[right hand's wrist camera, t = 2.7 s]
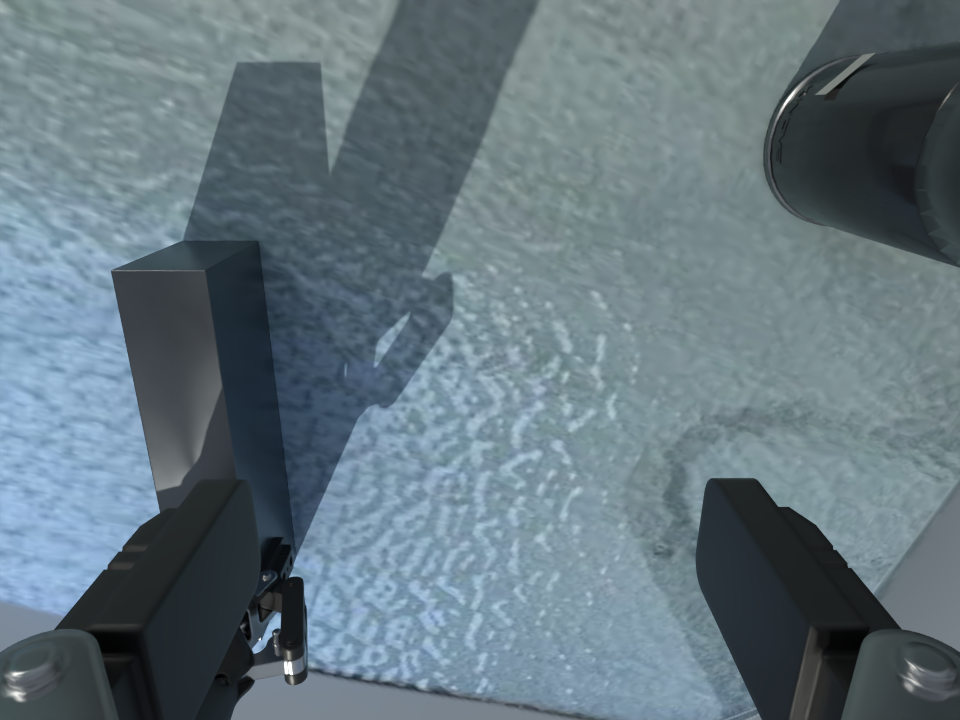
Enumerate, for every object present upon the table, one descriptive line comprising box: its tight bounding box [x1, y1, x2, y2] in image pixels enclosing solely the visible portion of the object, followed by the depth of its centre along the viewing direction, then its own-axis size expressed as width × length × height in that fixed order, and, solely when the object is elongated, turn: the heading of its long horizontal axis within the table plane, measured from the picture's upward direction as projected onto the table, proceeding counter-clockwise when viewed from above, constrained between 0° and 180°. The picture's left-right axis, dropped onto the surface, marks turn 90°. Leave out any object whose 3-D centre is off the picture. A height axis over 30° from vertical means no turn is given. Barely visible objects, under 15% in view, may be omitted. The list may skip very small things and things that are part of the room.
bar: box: [111, 241, 296, 640], centre depth 40 cm, size 24×5×8 cm, turn 0°
